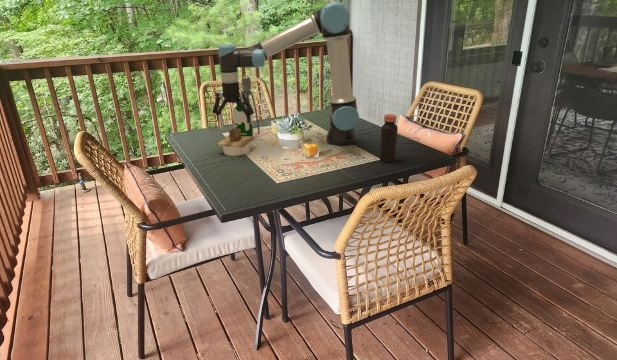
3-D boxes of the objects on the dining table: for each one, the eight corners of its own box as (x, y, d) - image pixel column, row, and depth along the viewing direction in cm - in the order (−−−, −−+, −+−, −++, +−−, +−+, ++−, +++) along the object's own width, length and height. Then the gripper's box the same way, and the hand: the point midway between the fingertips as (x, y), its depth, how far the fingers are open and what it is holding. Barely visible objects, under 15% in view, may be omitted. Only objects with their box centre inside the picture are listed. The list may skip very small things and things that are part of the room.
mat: (289, 147, 201) (289, 146, 201) (279, 158, 188) (279, 157, 188) (260, 145, 205) (260, 144, 205) (248, 155, 192) (248, 154, 191)
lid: (254, 138, 199) (253, 126, 196) (243, 147, 187) (242, 134, 185) (228, 137, 202) (227, 125, 199) (216, 145, 190) (215, 133, 188)
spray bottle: (259, 133, 224) (255, 77, 212) (238, 134, 224) (233, 77, 212) (261, 128, 233) (258, 74, 221) (241, 129, 233) (237, 74, 221)
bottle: (385, 156, 187) (388, 112, 179) (398, 160, 183) (401, 115, 175) (376, 160, 183) (378, 115, 175) (389, 164, 178) (392, 118, 171)
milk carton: (234, 142, 211) (230, 103, 203) (238, 137, 219) (235, 99, 211) (251, 142, 210) (248, 103, 202) (255, 137, 218) (252, 99, 210)
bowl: (253, 149, 200) (252, 139, 198) (243, 157, 190) (242, 147, 188) (230, 147, 203) (229, 137, 201) (219, 155, 193) (218, 145, 191)
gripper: (259, 80, 184) (262, 128, 192) (209, 79, 190) (214, 125, 198) (252, 83, 177) (256, 132, 186) (201, 82, 183) (206, 129, 192)
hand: (234, 128), depth 192 cm, fingers open, 12 cm apart
